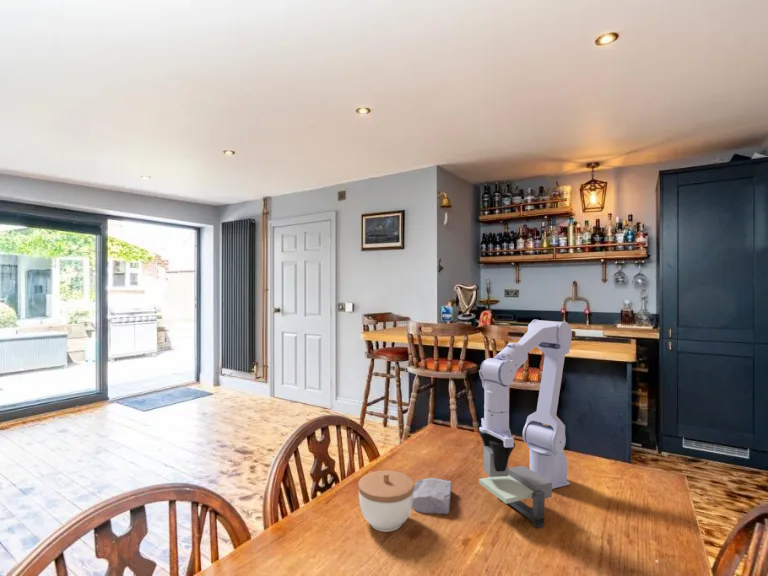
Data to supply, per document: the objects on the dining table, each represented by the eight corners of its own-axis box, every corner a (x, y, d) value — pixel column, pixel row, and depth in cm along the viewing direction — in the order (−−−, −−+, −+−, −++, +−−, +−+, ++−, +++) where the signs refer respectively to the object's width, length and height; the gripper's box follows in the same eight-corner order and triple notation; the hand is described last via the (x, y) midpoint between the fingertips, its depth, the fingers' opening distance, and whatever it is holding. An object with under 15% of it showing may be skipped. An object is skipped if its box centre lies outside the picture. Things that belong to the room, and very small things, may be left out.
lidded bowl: (425, 522, 93) (425, 474, 93) (386, 547, 84) (386, 494, 84) (385, 501, 102) (385, 457, 102) (346, 522, 93) (346, 474, 93)
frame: (503, 496, 105) (504, 467, 105) (544, 526, 92) (544, 493, 92) (497, 498, 104) (497, 468, 104) (537, 528, 91) (537, 494, 91)
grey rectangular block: (483, 468, 101) (483, 446, 101) (500, 467, 101) (500, 445, 101) (490, 477, 96) (490, 453, 96) (508, 476, 97) (508, 452, 97)
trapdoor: (521, 478, 105) (521, 464, 105) (553, 497, 95) (553, 483, 95) (478, 487, 100) (478, 473, 100) (506, 509, 90) (506, 494, 90)
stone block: (410, 519, 98) (452, 515, 96) (407, 499, 98) (448, 495, 96) (416, 496, 110) (454, 492, 108) (413, 478, 110) (450, 473, 108)
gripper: (470, 401, 105) (469, 454, 105) (492, 419, 91) (492, 481, 91) (496, 400, 106) (496, 453, 106) (522, 418, 92) (522, 479, 92)
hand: (496, 466), depth 99 cm, fingers closed on grey rectangular block, 4 cm apart
